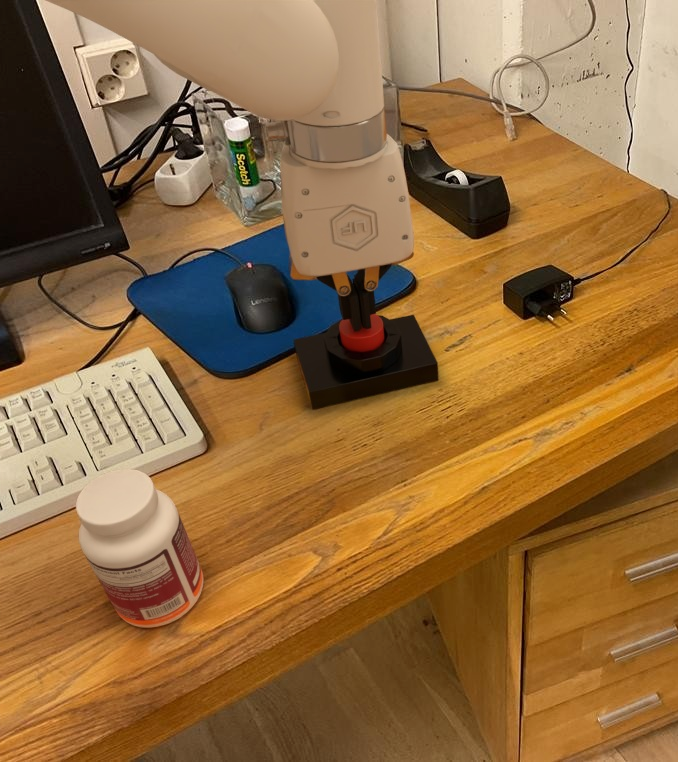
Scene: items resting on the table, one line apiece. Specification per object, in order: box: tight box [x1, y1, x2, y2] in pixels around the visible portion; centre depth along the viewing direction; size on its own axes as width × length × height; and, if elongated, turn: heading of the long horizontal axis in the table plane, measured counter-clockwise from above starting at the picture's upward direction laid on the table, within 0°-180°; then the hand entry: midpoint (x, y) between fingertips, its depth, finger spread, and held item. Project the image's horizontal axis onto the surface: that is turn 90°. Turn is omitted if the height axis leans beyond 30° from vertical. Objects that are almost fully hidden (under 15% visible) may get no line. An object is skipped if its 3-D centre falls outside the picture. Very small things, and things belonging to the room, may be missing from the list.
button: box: [339, 313, 384, 352], centre depth 75 cm, size 4×4×2 cm
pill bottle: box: [75, 468, 204, 628], centre depth 55 cm, size 6×6×11 cm
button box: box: [292, 314, 439, 411], centre depth 77 cm, size 12×8×4 cm, turn 111°
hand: (359, 321), depth 74 cm, fingers closed
